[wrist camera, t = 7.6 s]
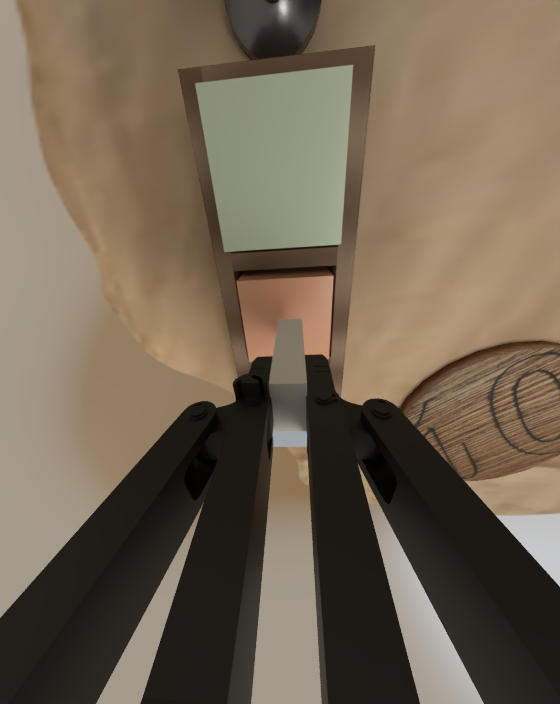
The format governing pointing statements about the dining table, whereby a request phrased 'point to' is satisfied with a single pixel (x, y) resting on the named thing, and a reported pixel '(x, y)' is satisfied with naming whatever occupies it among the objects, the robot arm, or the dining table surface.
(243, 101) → the sage button
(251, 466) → the robot arm
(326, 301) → the terracotta button
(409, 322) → the dining table surface
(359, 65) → the button console
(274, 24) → the indicator lamp
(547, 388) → the trivet
